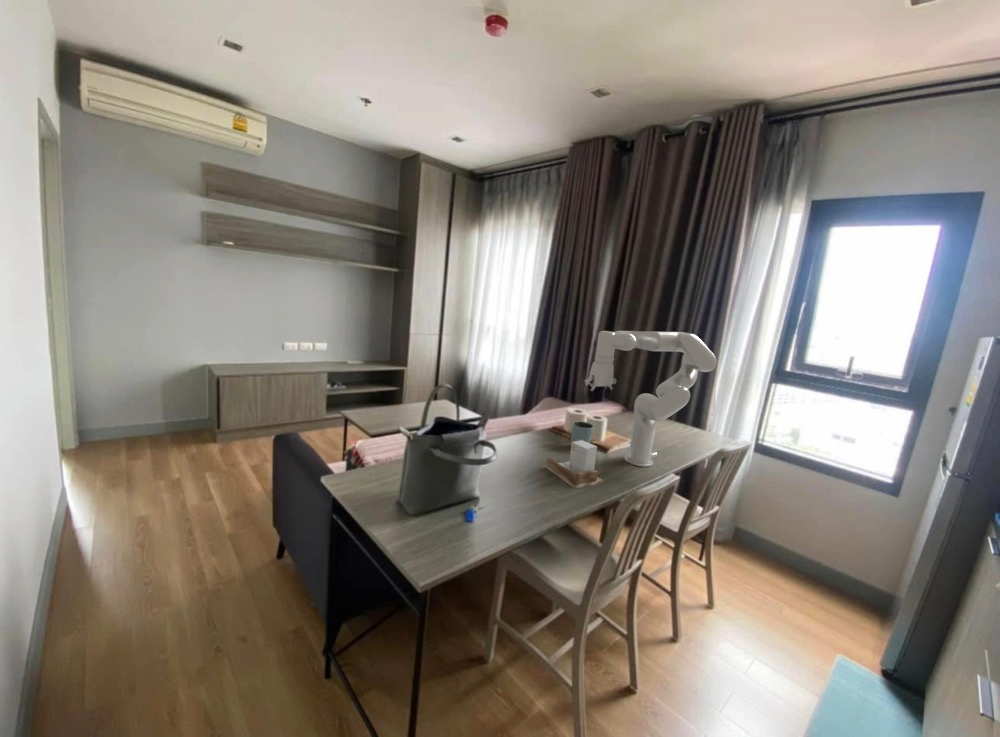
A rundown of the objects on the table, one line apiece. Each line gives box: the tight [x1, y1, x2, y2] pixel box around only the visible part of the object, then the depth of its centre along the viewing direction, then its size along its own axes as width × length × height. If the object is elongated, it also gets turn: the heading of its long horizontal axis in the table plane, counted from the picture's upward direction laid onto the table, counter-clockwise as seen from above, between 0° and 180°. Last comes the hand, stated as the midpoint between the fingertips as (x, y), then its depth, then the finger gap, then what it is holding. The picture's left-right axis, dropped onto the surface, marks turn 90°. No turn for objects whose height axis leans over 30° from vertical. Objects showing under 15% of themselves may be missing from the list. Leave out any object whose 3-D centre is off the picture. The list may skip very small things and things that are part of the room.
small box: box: [568, 440, 598, 475], centre depth 163 cm, size 8×6×13 cm
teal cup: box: [570, 420, 595, 446], centre depth 197 cm, size 10×10×12 cm
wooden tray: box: [545, 457, 604, 489], centre depth 166 cm, size 14×19×5 cm
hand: (598, 398), depth 179 cm, fingers open, 9 cm apart
